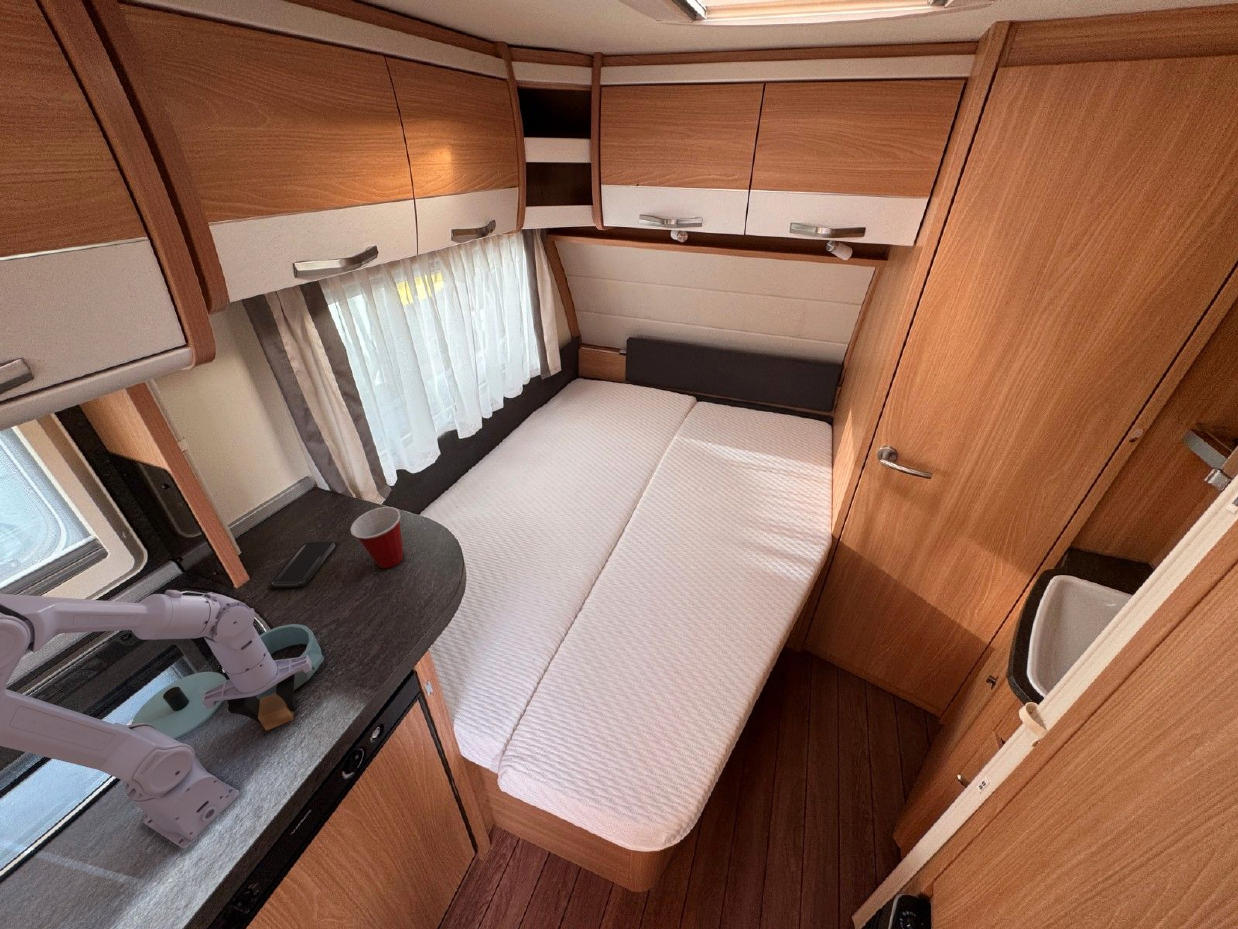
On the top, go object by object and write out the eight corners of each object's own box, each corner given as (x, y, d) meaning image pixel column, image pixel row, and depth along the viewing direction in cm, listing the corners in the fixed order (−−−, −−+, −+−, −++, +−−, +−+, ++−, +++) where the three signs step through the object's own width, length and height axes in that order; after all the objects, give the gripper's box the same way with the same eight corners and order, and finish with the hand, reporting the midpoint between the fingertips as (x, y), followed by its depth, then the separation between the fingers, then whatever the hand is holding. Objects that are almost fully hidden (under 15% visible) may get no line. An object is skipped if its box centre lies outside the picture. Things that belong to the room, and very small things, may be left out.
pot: (302, 709, 88) (290, 689, 86) (216, 692, 92) (202, 673, 89) (349, 650, 99) (340, 630, 96) (270, 637, 102) (260, 618, 100)
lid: (179, 754, 82) (165, 737, 80) (113, 739, 85) (98, 723, 83) (248, 681, 94) (237, 665, 91) (187, 670, 96) (176, 654, 94)
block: (295, 703, 89) (286, 688, 87) (294, 722, 86) (285, 707, 84) (269, 713, 88) (259, 698, 86) (267, 732, 85) (257, 718, 83)
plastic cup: (358, 560, 122) (342, 520, 116) (402, 540, 128) (389, 500, 122) (374, 583, 115) (358, 542, 109) (420, 560, 121) (408, 520, 115)
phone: (268, 584, 114) (304, 541, 127) (270, 588, 115) (306, 545, 127) (303, 583, 114) (335, 540, 127) (305, 587, 114) (337, 544, 127)
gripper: (298, 623, 85) (325, 676, 92) (194, 659, 80) (231, 712, 87) (297, 654, 80) (326, 708, 87) (185, 694, 74) (225, 748, 81)
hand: (278, 712), depth 86 cm, fingers closed on block, 4 cm apart
